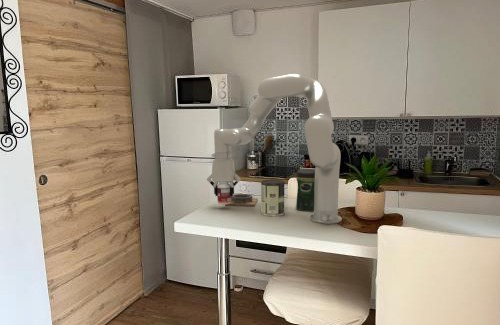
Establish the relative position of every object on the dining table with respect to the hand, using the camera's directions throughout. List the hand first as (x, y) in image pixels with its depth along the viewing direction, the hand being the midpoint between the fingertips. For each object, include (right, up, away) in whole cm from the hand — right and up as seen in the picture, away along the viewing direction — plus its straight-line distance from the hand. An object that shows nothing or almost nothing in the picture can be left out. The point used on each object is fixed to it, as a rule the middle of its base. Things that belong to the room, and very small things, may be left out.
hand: (224, 195), depth 167 cm
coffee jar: (+37, -7, 0) cm, 38 cm away
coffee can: (+22, -7, -8) cm, 24 cm away
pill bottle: (0, -4, 0) cm, 4 cm away
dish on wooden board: (+8, -5, +12) cm, 15 cm away
